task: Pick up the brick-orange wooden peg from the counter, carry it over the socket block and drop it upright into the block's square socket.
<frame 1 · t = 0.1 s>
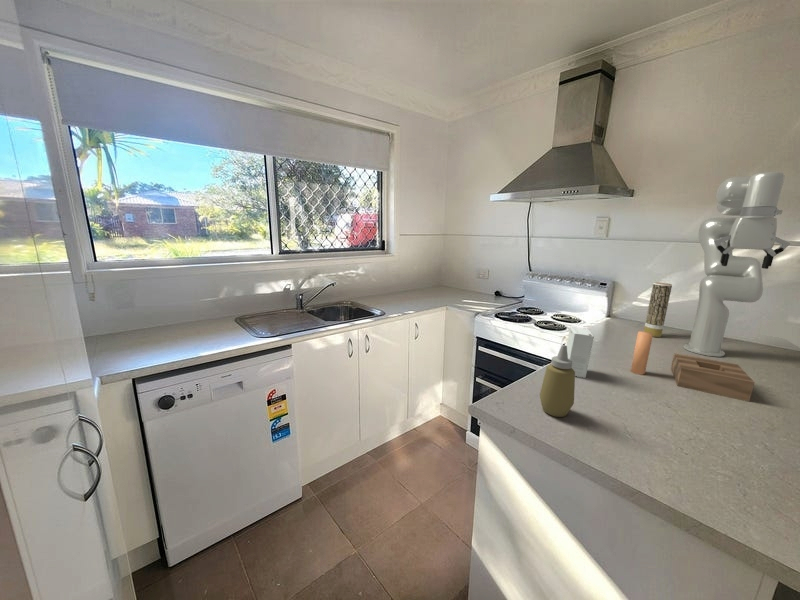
hand: (743, 267, 107), 37 cm above the worktop, tool pointing down, fingers open, 9 cm apart
socket block: (705, 383, 104), on the worktop
skincare box: (574, 372, 110), on the worktop
brown textured cylinder: (651, 335, 155), on the worktop
squeeze bottle: (554, 412, 85), on the worktop
peg: (637, 372, 111), on the worktop
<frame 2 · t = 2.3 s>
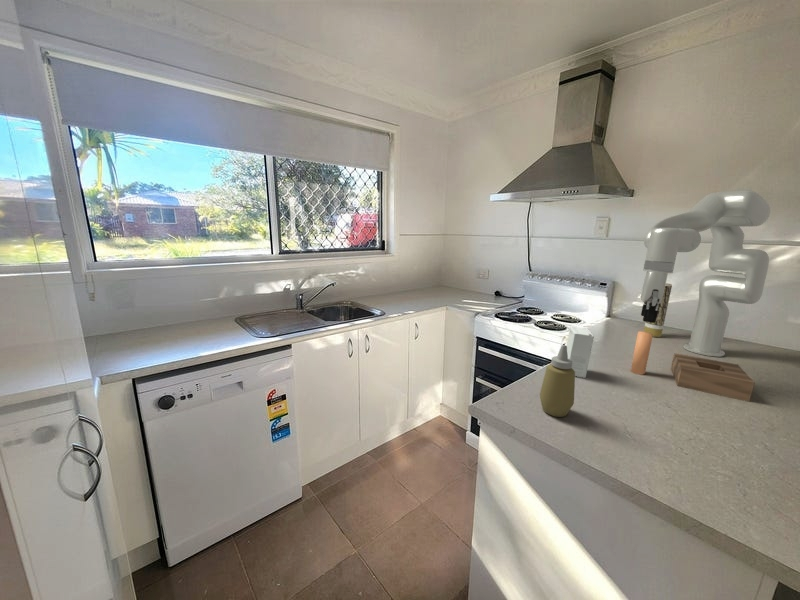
hand: (647, 319, 107), 19 cm above the worktop, tool pointing down, fingers open, 9 cm apart
nothing on the worktop moved.
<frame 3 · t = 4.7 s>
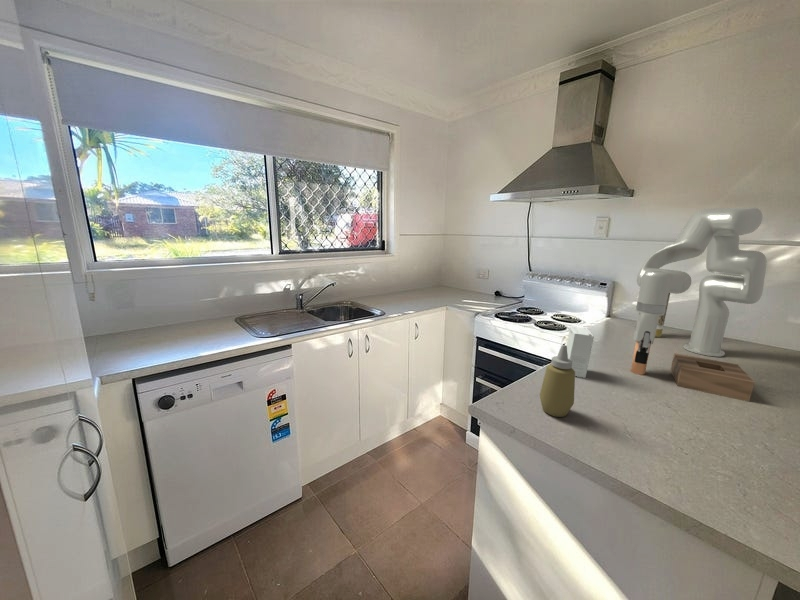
hand: (640, 360, 110), 4 cm above the worktop, tool pointing down, fingers closed on peg, 4 cm apart
peg: (637, 372, 111), on the worktop, touching gripper
everything else where it was.
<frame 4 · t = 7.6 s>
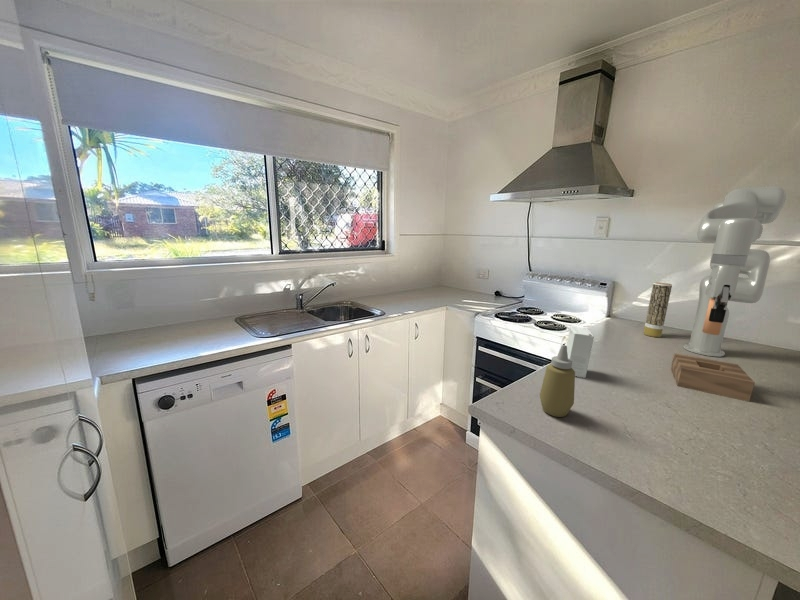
hand: (714, 319, 101), 21 cm above the worktop, tool pointing down, fingers closed on peg, 4 cm apart
peg: (710, 332, 102), point 17 cm above the worktop, touching gripper
everything else where it was.
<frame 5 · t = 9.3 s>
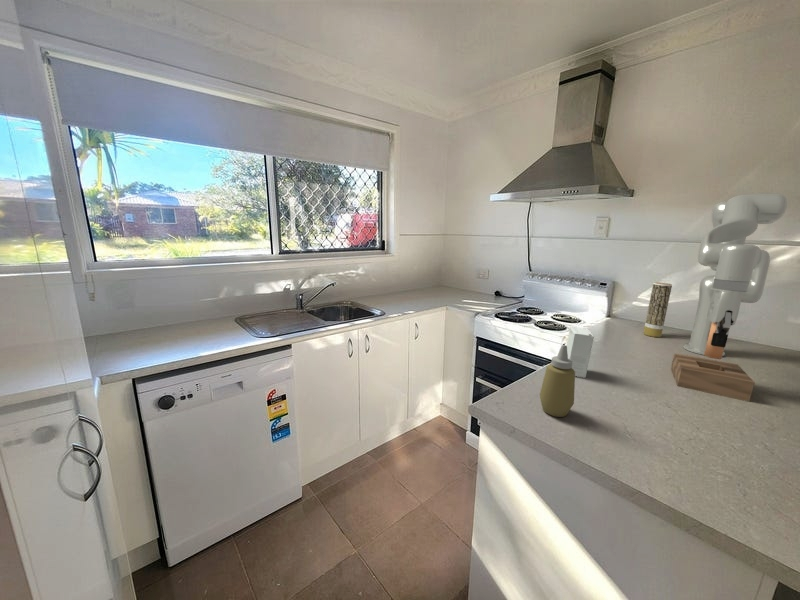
hand: (715, 343, 101), 14 cm above the worktop, tool pointing down, fingers closed on peg, 4 cm apart
peg: (712, 356, 102), point 9 cm above the worktop, touching gripper
everything else where it was.
when the fingers open (8 cm above the worktop, at t = 10.6 s): peg drops 4 cm, resting in socket block.
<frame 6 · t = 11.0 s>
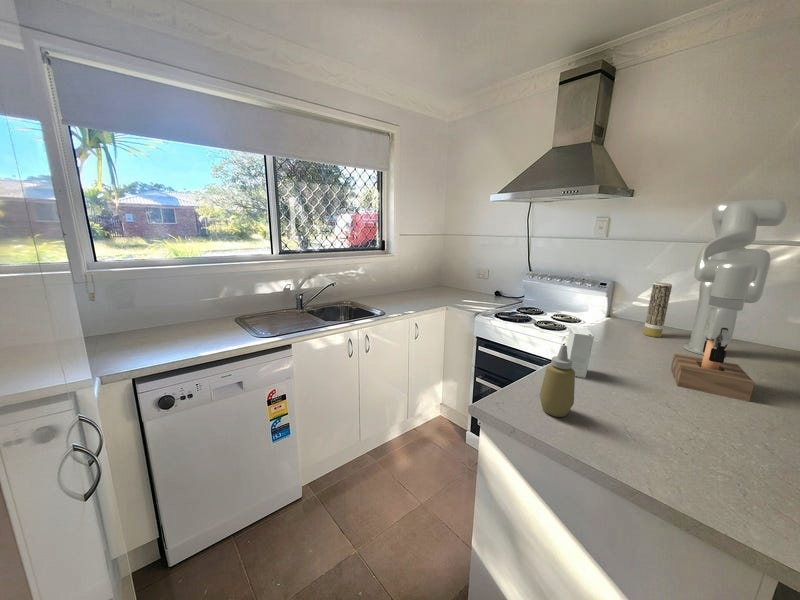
hand: (712, 357, 102), 9 cm above the worktop, tool pointing down, fingers open, 8 cm apart
peg: (705, 383, 104), resting in socket block
everything else where it was.
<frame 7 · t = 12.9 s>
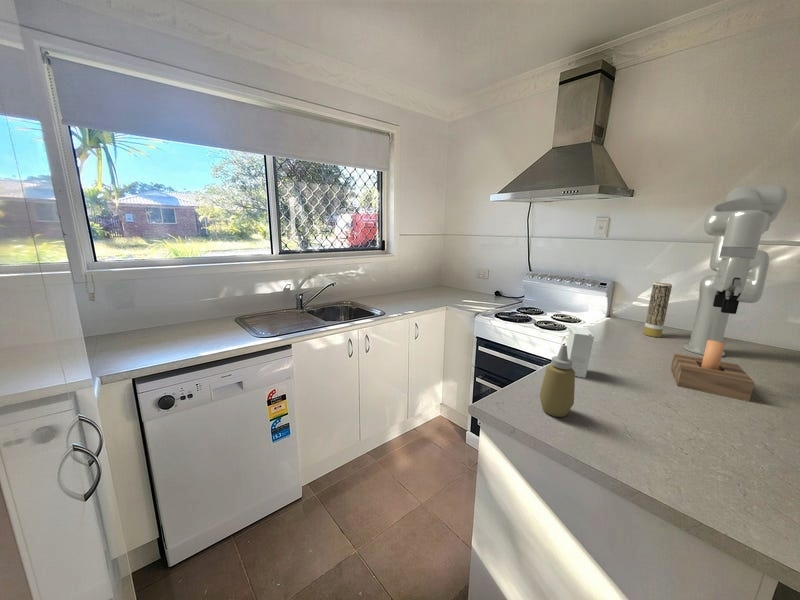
hand: (723, 310, 99), 24 cm above the worktop, tool pointing down, fingers open, 9 cm apart
nothing on the worktop moved.
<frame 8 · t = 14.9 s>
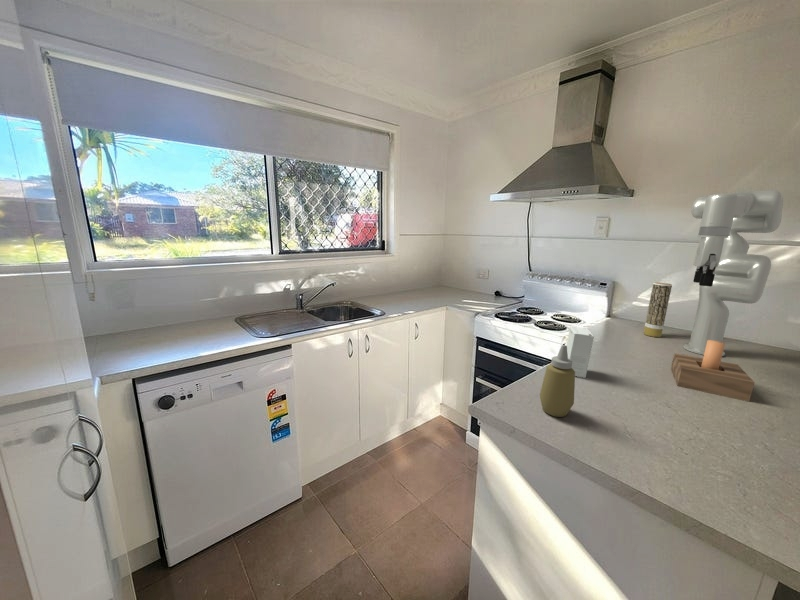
hand: (702, 284, 111), 30 cm above the worktop, tool pointing down, fingers open, 9 cm apart
nothing on the worktop moved.
at the end: peg 0.1 cm off-centre on the socket block, point 0.0 cm above the socket block's base; peg tilted 0°; the gripper is holding nothing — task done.
